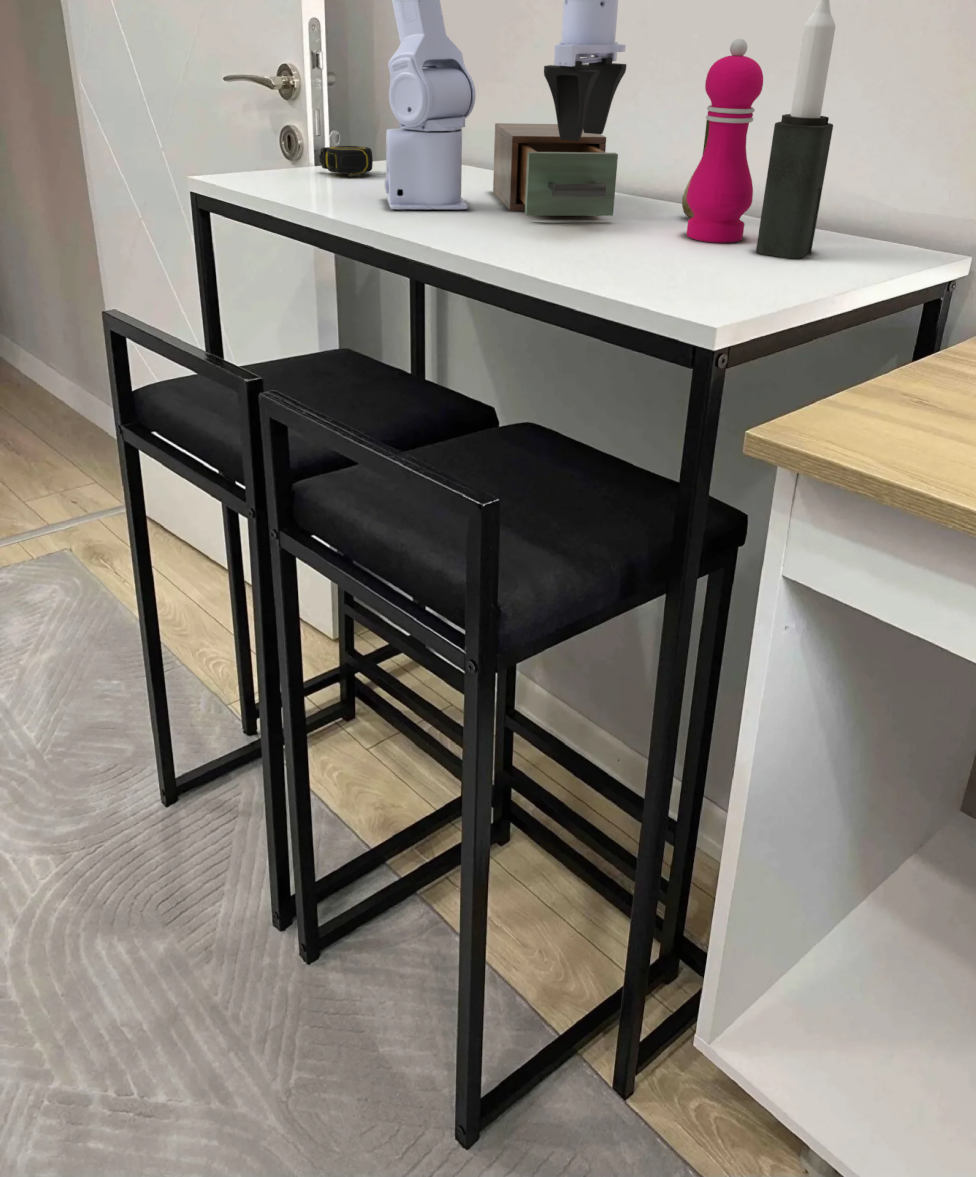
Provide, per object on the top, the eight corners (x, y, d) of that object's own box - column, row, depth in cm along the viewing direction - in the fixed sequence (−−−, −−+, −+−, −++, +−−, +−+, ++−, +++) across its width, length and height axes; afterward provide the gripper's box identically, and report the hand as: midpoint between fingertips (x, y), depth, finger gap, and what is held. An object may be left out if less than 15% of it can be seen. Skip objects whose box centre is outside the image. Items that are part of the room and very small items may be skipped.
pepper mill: (708, 246, 115) (734, 40, 106) (669, 233, 121) (690, 36, 111) (760, 241, 118) (790, 40, 109) (719, 229, 124) (744, 37, 114)
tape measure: (364, 170, 156) (363, 143, 154) (379, 177, 151) (378, 149, 149) (319, 172, 154) (318, 144, 152) (333, 179, 148) (331, 150, 146)
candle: (799, 259, 110) (845, -16, 98) (752, 253, 113) (792, -17, 100) (814, 251, 114) (860, -15, 102) (768, 245, 117) (808, -16, 104)
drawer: (622, 222, 121) (627, 159, 118) (533, 222, 120) (536, 158, 116) (588, 197, 135) (592, 140, 132) (508, 197, 134) (510, 139, 131)
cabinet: (600, 211, 132) (606, 137, 128) (509, 211, 131) (512, 135, 126) (577, 193, 144) (581, 124, 140) (492, 192, 142) (494, 123, 138)
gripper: (605, -4, 103) (594, 146, 110) (648, -3, 115) (636, 133, 121) (538, -6, 105) (531, 141, 112) (586, -5, 117) (578, 128, 124)
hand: (581, 136), depth 117 cm, fingers open, 7 cm apart
